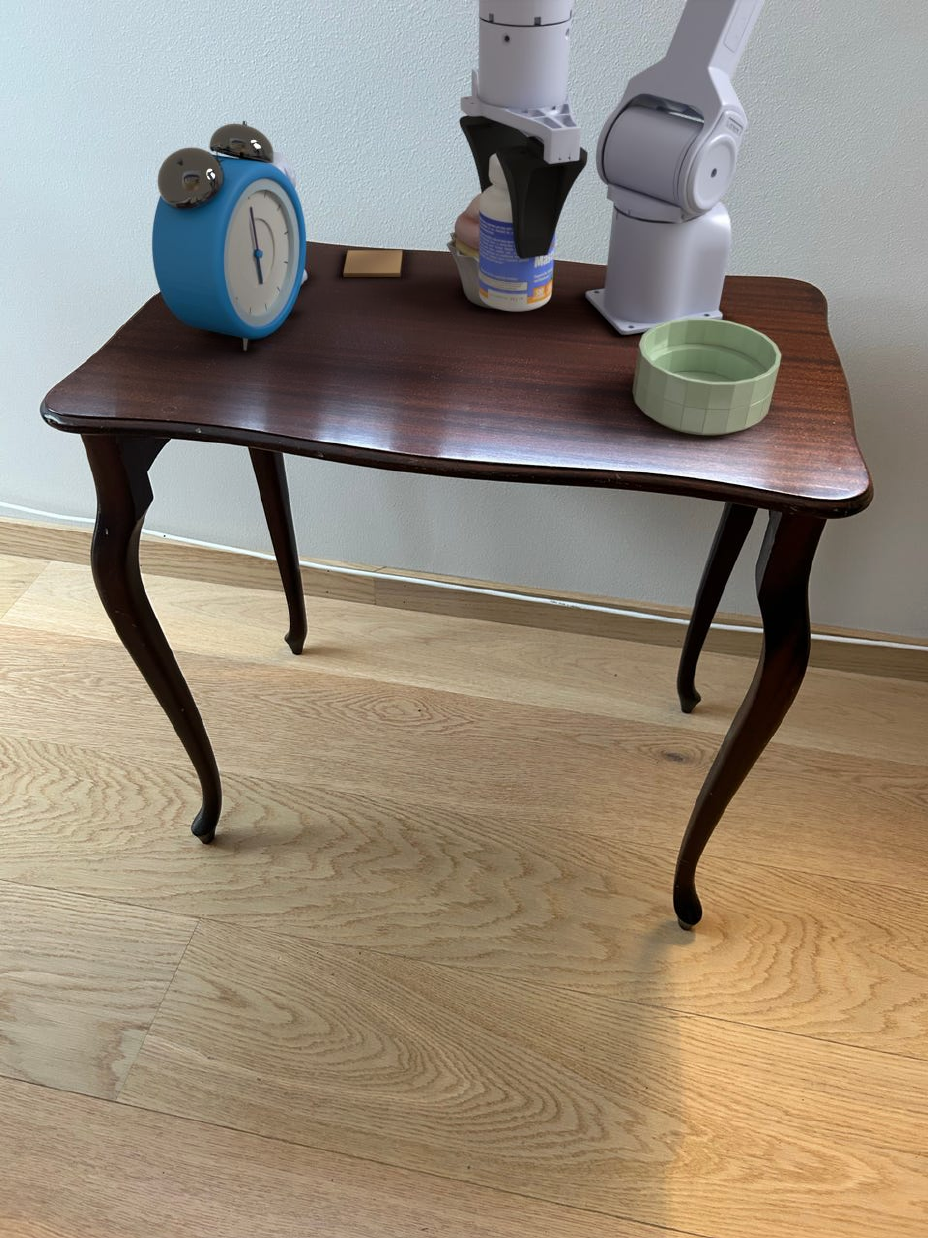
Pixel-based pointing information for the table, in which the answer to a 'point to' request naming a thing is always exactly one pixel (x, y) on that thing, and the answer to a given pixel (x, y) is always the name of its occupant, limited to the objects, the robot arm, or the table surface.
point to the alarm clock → (229, 236)
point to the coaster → (373, 263)
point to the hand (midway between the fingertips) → (516, 238)
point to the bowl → (705, 375)
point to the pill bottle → (508, 254)
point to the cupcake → (468, 250)
